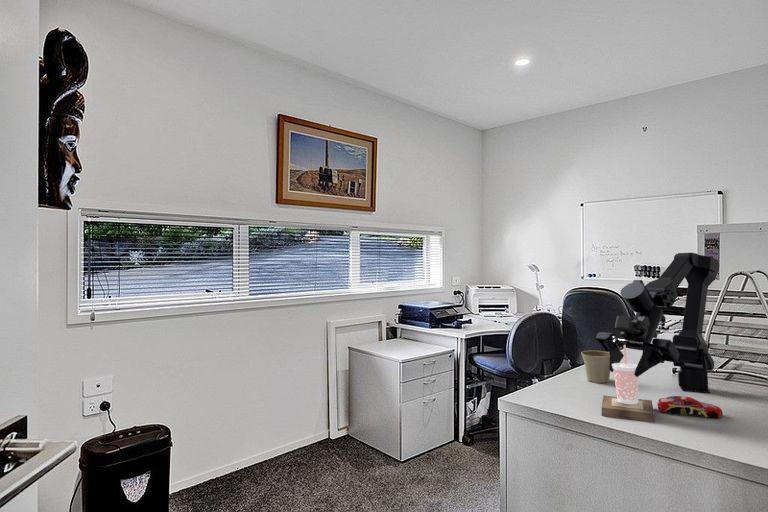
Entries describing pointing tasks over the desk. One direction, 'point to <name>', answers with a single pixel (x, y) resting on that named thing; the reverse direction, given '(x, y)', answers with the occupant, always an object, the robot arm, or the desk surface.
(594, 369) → the flower pot
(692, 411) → the race car
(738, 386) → the desk surface
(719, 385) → the desk surface
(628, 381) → the beverage cup
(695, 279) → the robot arm
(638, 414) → the walnut slab
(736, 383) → the desk surface
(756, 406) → the desk surface
